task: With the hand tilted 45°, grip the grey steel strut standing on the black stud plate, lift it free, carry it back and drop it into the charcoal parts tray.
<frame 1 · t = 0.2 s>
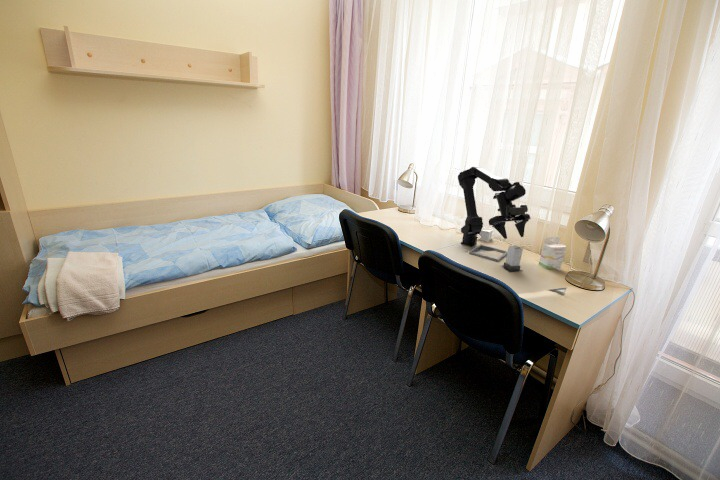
hand: (514, 237, 149), 14 cm above the table, tool tilted 35°, fingers open, 9 cm apart
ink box: (549, 269, 154), on the table
stud plate: (510, 271, 149), on the table
strut: (511, 268, 149), point 1 cm above the table, touching stud plate
external hard drive: (554, 287, 138), on the table
tray: (488, 256, 165), on the table
beige cube: (484, 239, 188), on the table
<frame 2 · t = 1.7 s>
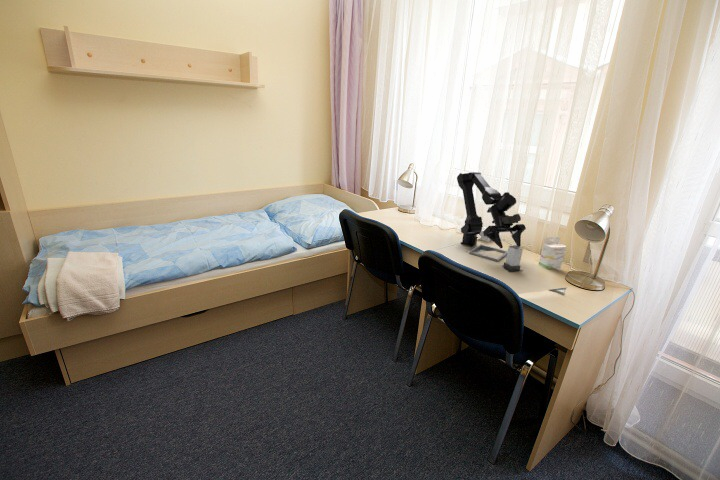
hand: (510, 247, 148), 10 cm above the table, tool tilted 45°, fingers open, 9 cm apart
nothing on the table moved.
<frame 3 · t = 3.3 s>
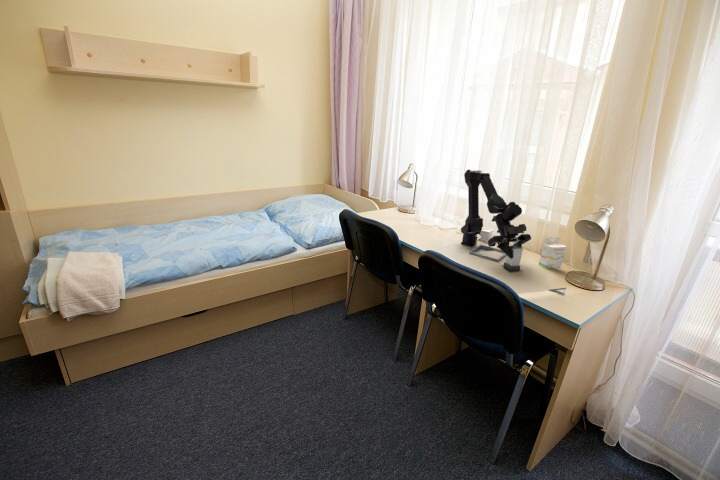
hand: (516, 258, 145), 7 cm above the table, tool tilted 45°, fingers closed on strut, 4 cm apart
strut: (511, 268, 149), point 1 cm above the table, touching gripper, stud plate
everything else where it was.
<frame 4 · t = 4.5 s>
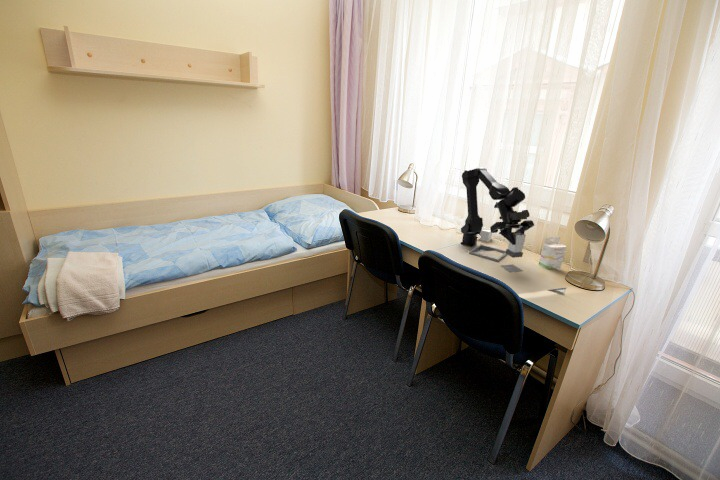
hand: (518, 244, 144), 13 cm above the table, tool tilted 45°, fingers closed on strut, 4 cm apart
strut: (513, 255, 147), point 8 cm above the table, touching gripper
everything else where it was.
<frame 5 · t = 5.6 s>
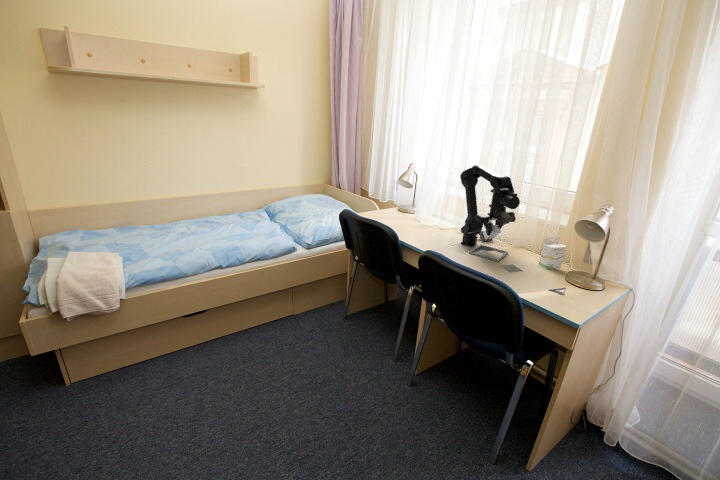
hand: (492, 235, 161), 11 cm above the table, tool pointing down, fingers closed on strut, 4 cm apart
strut: (484, 237, 166), point 8 cm above the table, tilted 45°, touching gripper
everything else where it was.
when the fingers open (6 cm above the table, at t = 6.7 s): strut moves 2 cm and tips over, resting on tray.
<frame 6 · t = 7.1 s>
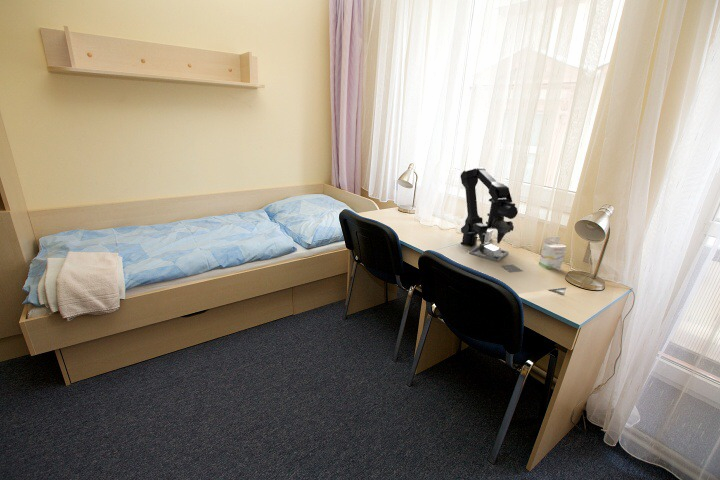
hand: (490, 243, 163), 6 cm above the table, tool pointing down, fingers open, 9 cm apart
strut: (484, 247, 167), point 3 cm above the table, tilted 85°, touching tray
everything else where it was.
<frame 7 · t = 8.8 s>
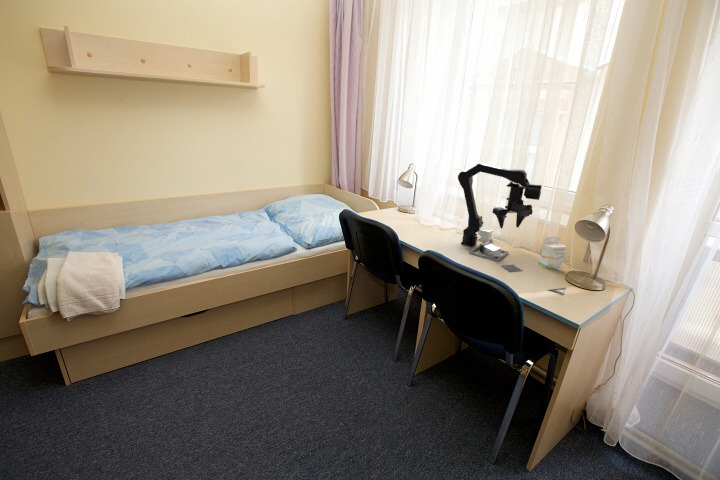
hand: (509, 227, 166), 13 cm above the table, tool pointing down, fingers open, 9 cm apart
nothing on the table moved.
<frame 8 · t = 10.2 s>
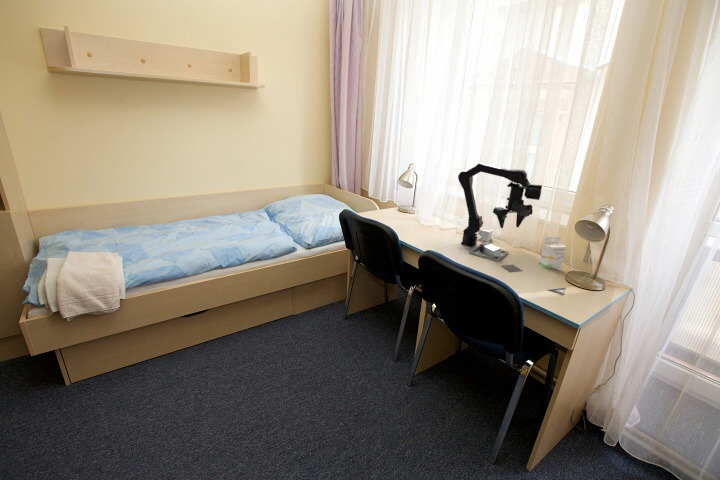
hand: (509, 227, 167), 13 cm above the table, tool pointing down, fingers open, 9 cm apart
nothing on the table moved.
at the end: strut inside the target area on the tray (3.4 cm from its centre), point 3.3 cm above the tray's base; the gripper is holding nothing; strut moved 20.7 cm from its start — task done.
